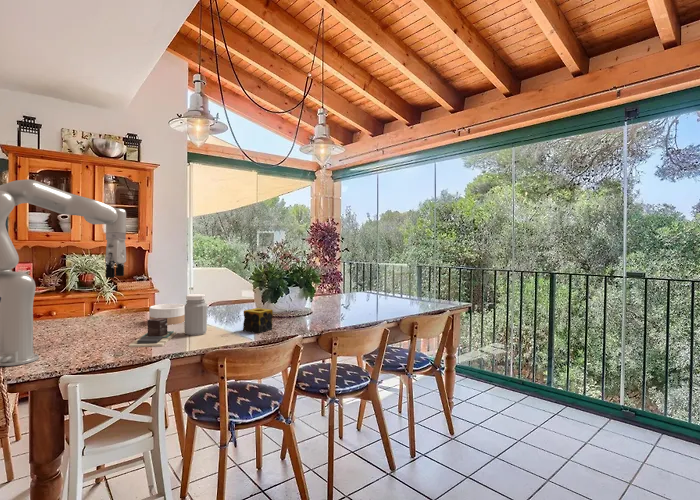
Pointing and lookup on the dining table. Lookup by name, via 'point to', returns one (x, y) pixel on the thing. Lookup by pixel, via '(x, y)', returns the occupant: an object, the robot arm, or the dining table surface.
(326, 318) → the dining table surface
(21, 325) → the robot arm
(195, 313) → the jar
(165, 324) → the box
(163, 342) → the stamp board
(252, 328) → the candle
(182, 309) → the bowl
